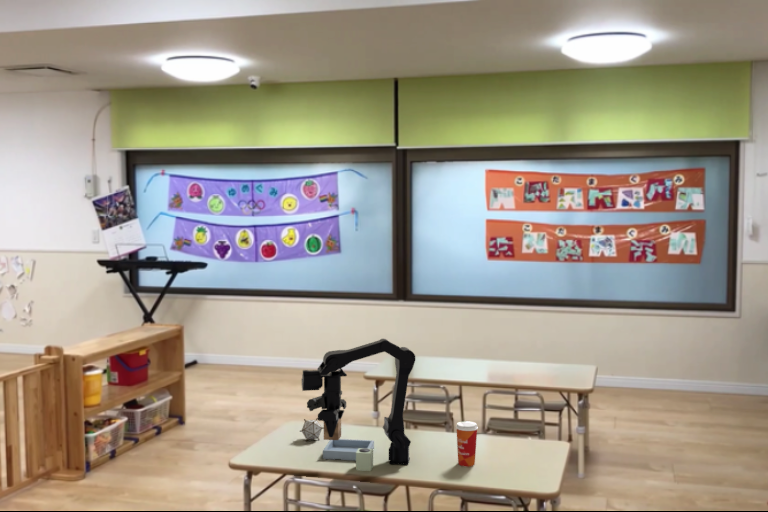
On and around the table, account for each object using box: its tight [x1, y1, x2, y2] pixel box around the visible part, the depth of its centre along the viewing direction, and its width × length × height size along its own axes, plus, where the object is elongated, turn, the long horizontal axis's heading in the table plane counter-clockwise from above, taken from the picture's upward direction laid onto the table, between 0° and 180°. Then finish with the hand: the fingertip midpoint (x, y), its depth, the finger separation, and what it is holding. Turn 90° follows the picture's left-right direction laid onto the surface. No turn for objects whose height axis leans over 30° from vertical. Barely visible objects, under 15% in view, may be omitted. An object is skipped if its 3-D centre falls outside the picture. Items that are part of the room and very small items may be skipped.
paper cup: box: [455, 420, 479, 468], centre depth 260 cm, size 8×8×14 cm
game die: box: [299, 417, 324, 442], centre depth 287 cm, size 9×8×10 cm
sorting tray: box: [322, 438, 375, 462], centre depth 271 cm, size 16×14×3 cm
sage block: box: [355, 448, 374, 472], centre depth 256 cm, size 5×5×6 cm
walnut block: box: [323, 418, 342, 441], centre depth 257 cm, size 5×5×6 cm
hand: (332, 434), depth 257 cm, fingers closed on walnut block, 5 cm apart
